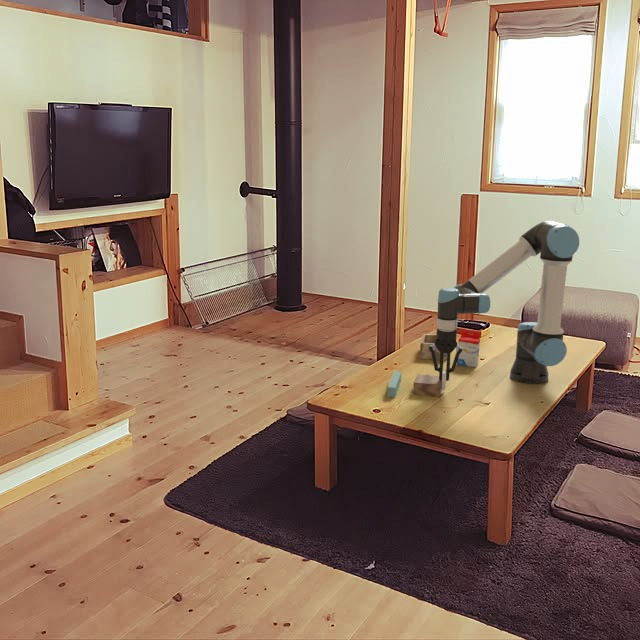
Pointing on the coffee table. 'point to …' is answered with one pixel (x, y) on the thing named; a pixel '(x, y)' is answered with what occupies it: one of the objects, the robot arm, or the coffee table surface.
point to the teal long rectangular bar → (394, 384)
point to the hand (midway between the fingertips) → (443, 388)
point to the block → (427, 385)
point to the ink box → (469, 348)
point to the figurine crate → (424, 348)
